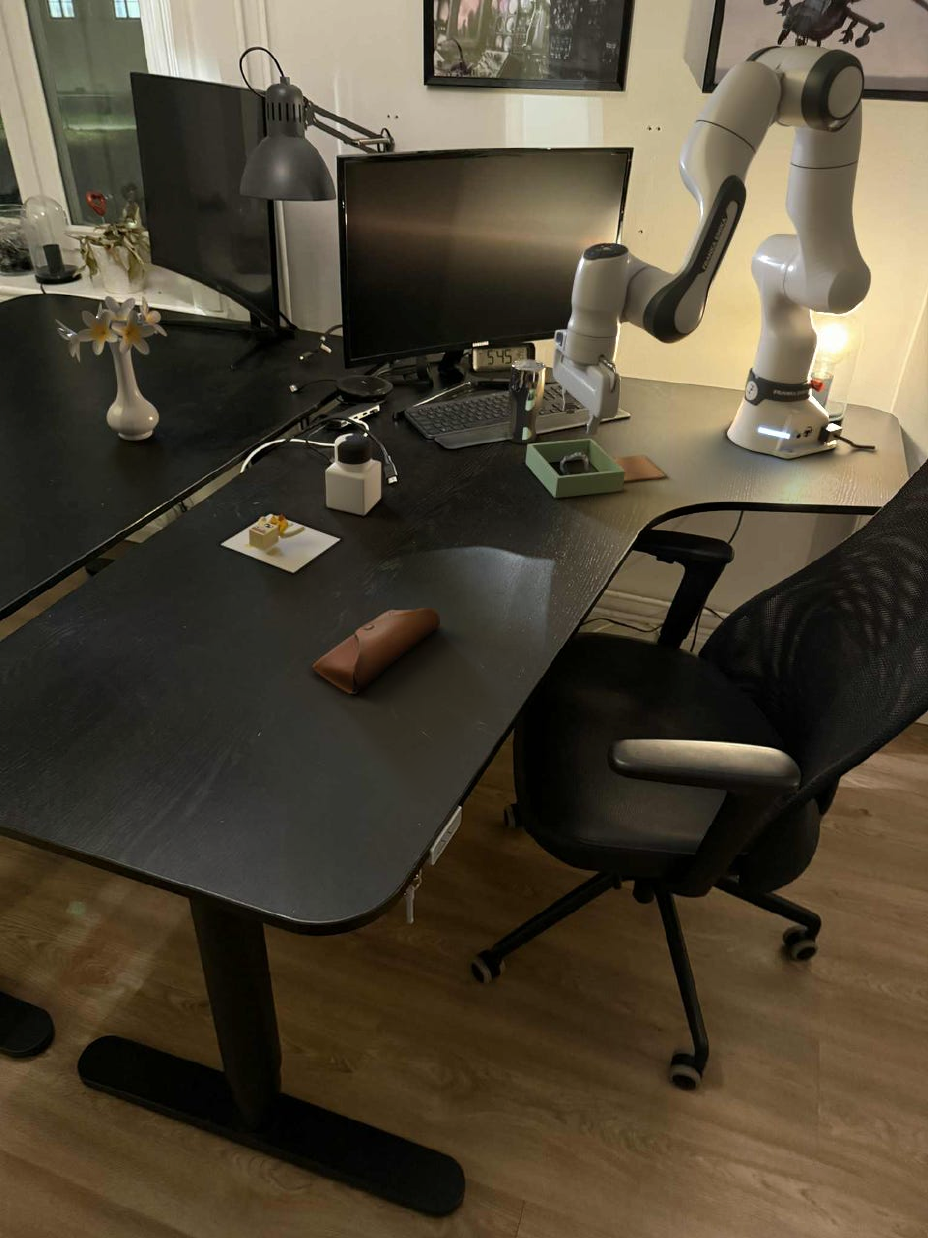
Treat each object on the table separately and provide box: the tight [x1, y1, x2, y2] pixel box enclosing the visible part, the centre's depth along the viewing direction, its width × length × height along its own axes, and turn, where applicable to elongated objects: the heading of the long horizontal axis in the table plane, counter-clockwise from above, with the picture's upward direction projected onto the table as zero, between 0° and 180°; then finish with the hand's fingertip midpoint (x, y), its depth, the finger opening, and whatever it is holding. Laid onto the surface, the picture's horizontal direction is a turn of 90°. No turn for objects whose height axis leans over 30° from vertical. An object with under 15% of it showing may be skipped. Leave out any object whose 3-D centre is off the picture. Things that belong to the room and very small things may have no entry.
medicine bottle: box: [325, 433, 382, 517], centre depth 145 cm, size 7×7×12 cm
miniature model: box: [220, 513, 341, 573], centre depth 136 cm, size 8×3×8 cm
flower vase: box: [55, 295, 168, 442], centre depth 158 cm, size 13×18×25 cm
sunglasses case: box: [312, 606, 441, 695], centre depth 115 cm, size 18×7×7 cm
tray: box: [525, 438, 625, 499], centre depth 161 cm, size 13×14×4 cm
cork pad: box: [612, 455, 666, 483], centre depth 166 cm, size 9×9×1 cm
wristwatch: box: [559, 452, 590, 476], centre depth 161 cm, size 3×5×5 cm
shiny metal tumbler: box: [506, 358, 547, 444], centre depth 171 cm, size 7×7×15 cm
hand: (579, 422), depth 155 cm, fingers open, 8 cm apart
